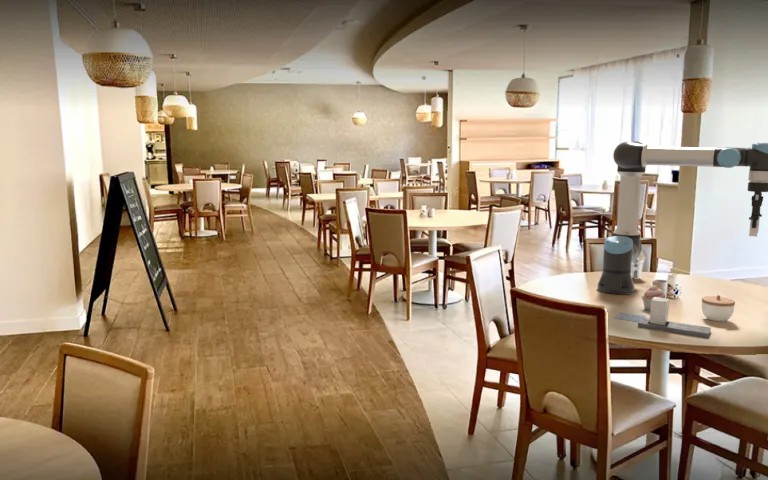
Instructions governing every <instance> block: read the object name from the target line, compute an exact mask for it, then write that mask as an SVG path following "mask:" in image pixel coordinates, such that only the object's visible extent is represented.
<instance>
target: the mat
mask: <svg viewBox="0 0 768 480" xmlns="http://www.w3.org/2000/svg"><path fill="white" fill-rule="evenodd" d="M642 318H646V315H639V314H633V313H628V312H627V313H626V312H619V313H618V314H617V315H616V316H615V317H614V320H615V319H617V320H621V321H628V322H636V323H638V322H639V321H640V320H641V319H642Z"/></svg>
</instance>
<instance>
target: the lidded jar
mask: <svg viewBox="0 0 768 480" xmlns="http://www.w3.org/2000/svg"><path fill="white" fill-rule="evenodd" d="M735 304H736V301H735V300H734V299H731V298H728V297H724V296H721V295H720V294H719V295H718V294H717V295H715V296H714V295H708V296H703V297H702V298H701V310H702V313H703V315H704V317H706V320H708V321H715V322H721V323H726V322H727V321H728V320H729V319H730V318H731V317H732V316H733V313H734V310H735Z"/></svg>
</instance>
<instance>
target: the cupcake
mask: <svg viewBox="0 0 768 480" xmlns="http://www.w3.org/2000/svg"><path fill="white" fill-rule="evenodd" d="M643 294H644V295H642V296H641V300H642V301H643V306H644V309H645V310H646V311H649V312H650V311H651V300H652V299H653V298H654V297H659V298H666V297H667V296H666V293H665V292H664V291H663V290H662V289H661V288H659V287H658V286H657V284H654V285H652V286H650V287H648V289H646V290H645V292H644V293H643Z"/></svg>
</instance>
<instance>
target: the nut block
mask: <svg viewBox="0 0 768 480" xmlns="http://www.w3.org/2000/svg"><path fill="white" fill-rule="evenodd" d="M669 306H670V298H666V297H665V298H659V297H654V298H653V299H652V300H651V311H649V313H650V314H649V319H650V324H653V325H659V326H666V327H667V323H668V321H669V320H668V319H669V310H670V309H669Z"/></svg>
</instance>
